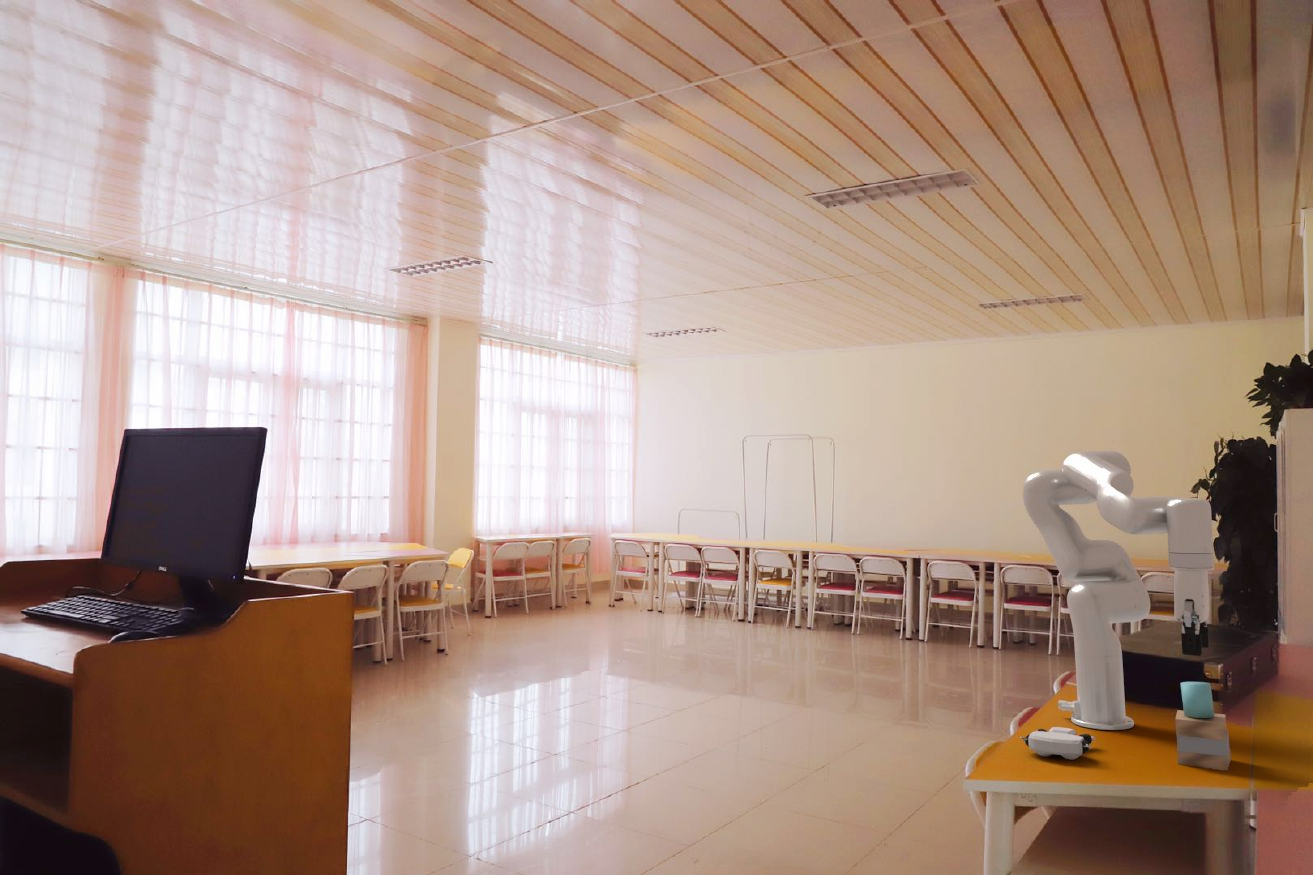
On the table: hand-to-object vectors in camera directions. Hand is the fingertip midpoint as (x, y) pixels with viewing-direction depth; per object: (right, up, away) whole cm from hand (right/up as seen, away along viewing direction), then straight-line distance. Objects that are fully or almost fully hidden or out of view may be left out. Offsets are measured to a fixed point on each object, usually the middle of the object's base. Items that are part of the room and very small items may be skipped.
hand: (1195, 650), depth 173 cm
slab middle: (0, -18, -2) cm, 18 cm away
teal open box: (0, -12, -1) cm, 12 cm away
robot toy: (-23, -22, +7) cm, 33 cm away
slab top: (0, -15, -2) cm, 15 cm away
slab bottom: (+1, -21, -2) cm, 21 cm away
